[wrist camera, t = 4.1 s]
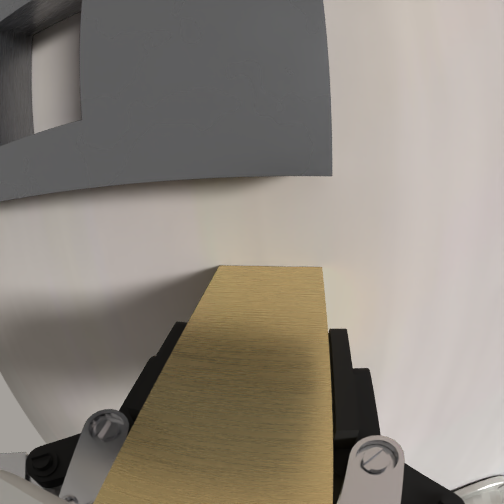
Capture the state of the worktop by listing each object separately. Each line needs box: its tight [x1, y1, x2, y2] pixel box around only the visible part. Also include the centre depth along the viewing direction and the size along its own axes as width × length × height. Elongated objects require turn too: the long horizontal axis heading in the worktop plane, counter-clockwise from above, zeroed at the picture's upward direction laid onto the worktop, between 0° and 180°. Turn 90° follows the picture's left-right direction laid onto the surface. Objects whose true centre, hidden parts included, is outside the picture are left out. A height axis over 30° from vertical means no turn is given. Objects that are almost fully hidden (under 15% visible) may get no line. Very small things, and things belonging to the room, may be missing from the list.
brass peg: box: [93, 266, 333, 504], centre depth 9 cm, size 4×4×10 cm
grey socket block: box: [0, 0, 332, 201], centre depth 9 cm, size 20×10×3 cm, turn 93°
